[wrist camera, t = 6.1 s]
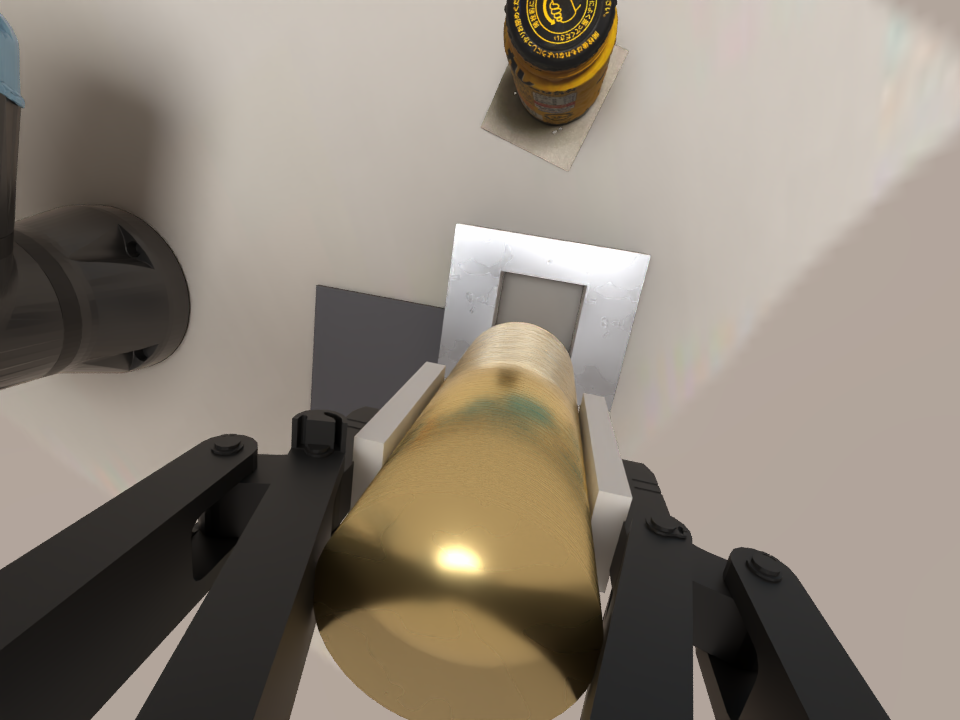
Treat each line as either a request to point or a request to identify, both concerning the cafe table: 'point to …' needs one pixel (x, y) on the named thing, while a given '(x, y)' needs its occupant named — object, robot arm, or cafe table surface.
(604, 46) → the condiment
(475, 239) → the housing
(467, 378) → the gold rounded cylinder
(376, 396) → the mat
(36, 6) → the cafe table surface
